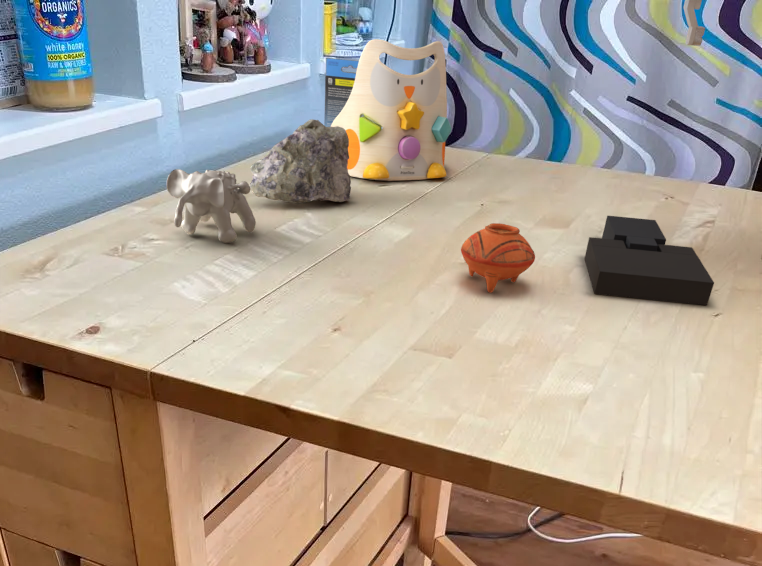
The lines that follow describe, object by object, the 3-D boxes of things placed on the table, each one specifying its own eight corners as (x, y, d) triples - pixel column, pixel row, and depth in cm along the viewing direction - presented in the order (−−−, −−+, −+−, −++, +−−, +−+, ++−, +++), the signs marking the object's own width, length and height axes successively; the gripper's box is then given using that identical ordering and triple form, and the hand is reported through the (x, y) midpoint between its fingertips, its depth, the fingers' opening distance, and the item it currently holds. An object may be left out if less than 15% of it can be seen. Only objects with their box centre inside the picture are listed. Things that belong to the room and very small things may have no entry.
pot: (440, 281, 87) (454, 215, 84) (475, 281, 93) (490, 219, 90) (504, 299, 83) (521, 230, 80) (537, 298, 89) (554, 234, 86)
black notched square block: (685, 268, 96) (692, 247, 95) (706, 305, 87) (714, 282, 85) (584, 258, 97) (589, 237, 95) (594, 294, 88) (599, 271, 86)
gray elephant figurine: (259, 227, 99) (258, 160, 95) (242, 260, 90) (239, 187, 85) (185, 221, 99) (180, 154, 95) (159, 253, 90) (152, 180, 85)
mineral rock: (248, 207, 106) (246, 122, 100) (262, 186, 114) (261, 107, 108) (345, 215, 105) (349, 131, 99) (352, 193, 114) (356, 114, 108)
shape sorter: (347, 185, 117) (354, 43, 106) (323, 167, 125) (327, 33, 114) (468, 180, 123) (485, 45, 113) (438, 163, 131) (452, 35, 120)
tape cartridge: (377, 140, 142) (382, 59, 134) (371, 144, 139) (376, 62, 131) (329, 134, 144) (332, 54, 136) (322, 138, 141) (325, 57, 133)
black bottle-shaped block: (648, 244, 103) (655, 219, 101) (663, 272, 94) (670, 246, 93) (601, 239, 103) (607, 215, 101) (611, 267, 95) (617, 241, 93)
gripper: (680, -112, 82) (646, 45, 91) (889, -105, 81) (835, 55, 89) (669, -110, 87) (638, 39, 96) (865, -103, 86) (816, 48, 94)
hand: (734, 47), depth 93 cm, fingers open, 8 cm apart
